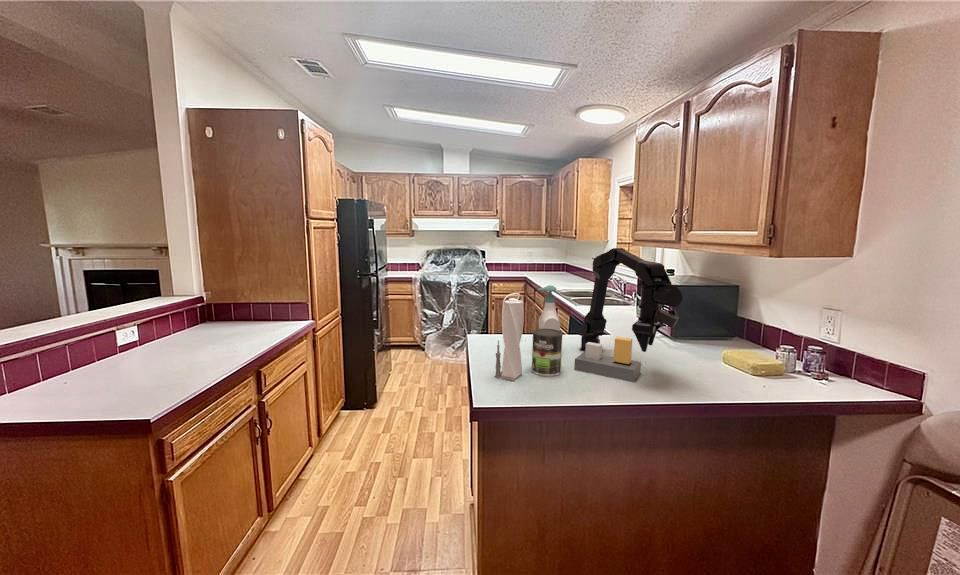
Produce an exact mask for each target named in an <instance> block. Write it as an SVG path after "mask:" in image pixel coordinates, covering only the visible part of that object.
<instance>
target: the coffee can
mask: <svg viewBox="0 0 960 575" xmlns="http://www.w3.org/2000/svg"><path fill="white" fill-rule="evenodd" d="M563 334H564V333H563V332H562V331H561V330H560V331H559V330H554V329H539V328H537V329H534V330H532V351H531V352H532V353H531V354H532V356H531V357H532V358H531V361H532V362H531V372H532V373H533V374H535V375H537V376H541V377H556V376H560V374H561V373H562V354H563V351H562V350H563Z"/></svg>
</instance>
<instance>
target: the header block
mask: <svg viewBox="0 0 960 575" xmlns="http://www.w3.org/2000/svg"><path fill="white" fill-rule="evenodd" d="M641 366H642V362H641V361H639V360H632V359H631V362H630V363H629V364H625V363H620V362H615V361H614V356H610V355H605V354H602V359H601V360H600V361H599V360H594V359H589V358H585V351H583V352H582V353H581V354H579V355H578V356H576V357H575V358H574V370H575V371H580V372H583V373H589V374H593V375H597V376H603V377H606V378H607V377H609V378H611V379H617V380H622V381H627V382H632V383H634V382H635V381H636V379H637V378H638V377H639V376H640V375H641V368H642V367H641Z"/></svg>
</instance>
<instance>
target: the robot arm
mask: <svg viewBox="0 0 960 575" xmlns="http://www.w3.org/2000/svg"><path fill="white" fill-rule="evenodd" d="M620 264H622V265H623V266H625V267H626V268H629V269H630V270H632V271H634V272H635V273H634V274H635V276H636V277H637V278H638V279H640V280H641V281H639V283H637V284H636V286H637V287H638V288H639V287H640V289H641V290H640V292H641V293H640V303H639V305H638V309H639V316H638V318H637V320H636V321H635V322H634V323H633V324H632V325H631V326H632V327H631V331H632V332H633V334H634V336H635V337H636V340H637V343H638V345H639V346H640V347H639V348H640V350H641V351H642V353H643V352H644V353H646V352H647V350H648V346H653V344H654V342H655V337H656V334H657V332H658V330H659V329H660V328H662V326H664V325H666V326H667V327H669V328H672V329H673V328H674V327H675V326H676V324H677V323H678V320H679V319H680V317H679V315H677V311H676V310H674V309H670V310H669V311H667V310H664V309H662V308H663V307H662V305H663V306H667V307H670V308H677V307H679V305H680V304H681V303H682V300H683V294H682V291H681V289H678V284H675V283H674V284H672V281H671V279H670V277H669V275H668V273H667V270H666V269H665V266H664V264H663V263H660V262H655V261H649V260H646V259H642V258H640V257H639V256H637V255H635V254H633V253H631V252H629V251H628V250H626V249H625V248H622V247H614V248H613V247H612V248H611V249H609V250H607V251H606V252H603V253H601V254H599V255H596V256H595V257H594V258H593V260H592V272H593V275H594V277H595V278H594V285H593V290H592V296H591V300H590V301H591V302H590V306H589V307H590V308H589V311H588V313H587V314H586V315H585V316H584V319H583V321H582V324H581V325H580V326H579V327H578V328H577V334H578V335H579V336H581V341H580V342H581V344H580V348H579V351H583V352H585V349H586V343H588V342H592V343H598V344H601V339H599V338H600V336H601V337H602V336H603V334H604V332H605V329H606V326H607V325H606V324H607V322H608V320H607V318H605V316H604V313H603V312H604V308H605V307H604V306H605V301H606V296H607V290H608V284H609V280H610V278H611V277H612V276H613V275H614V274H615V272H616V268H617V266H619V265H620Z"/></svg>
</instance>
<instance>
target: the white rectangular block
mask: <svg viewBox="0 0 960 575" xmlns="http://www.w3.org/2000/svg"><path fill="white" fill-rule="evenodd" d="M584 352H585V358H589V359H594V360H599V361H600V360H601V359H602V355H603V343H600V344H598V343H592V342H588V343H586V349H585V351H584Z"/></svg>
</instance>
